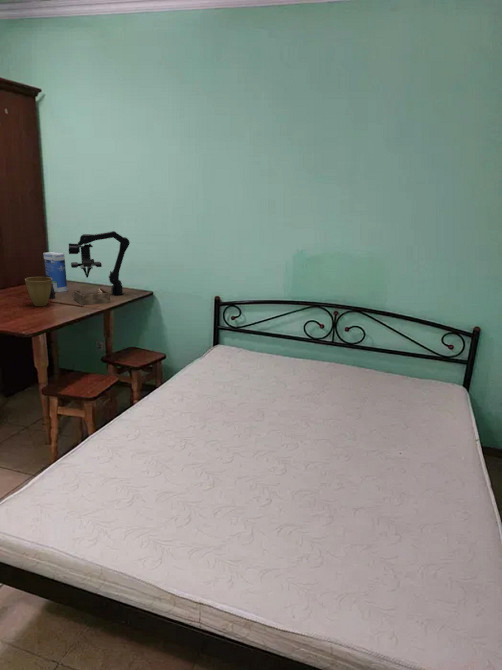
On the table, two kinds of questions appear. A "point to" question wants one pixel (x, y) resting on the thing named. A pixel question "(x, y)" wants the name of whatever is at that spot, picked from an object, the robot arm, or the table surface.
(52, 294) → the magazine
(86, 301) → the crate
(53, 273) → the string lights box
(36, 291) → the plant pot
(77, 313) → the table surface
